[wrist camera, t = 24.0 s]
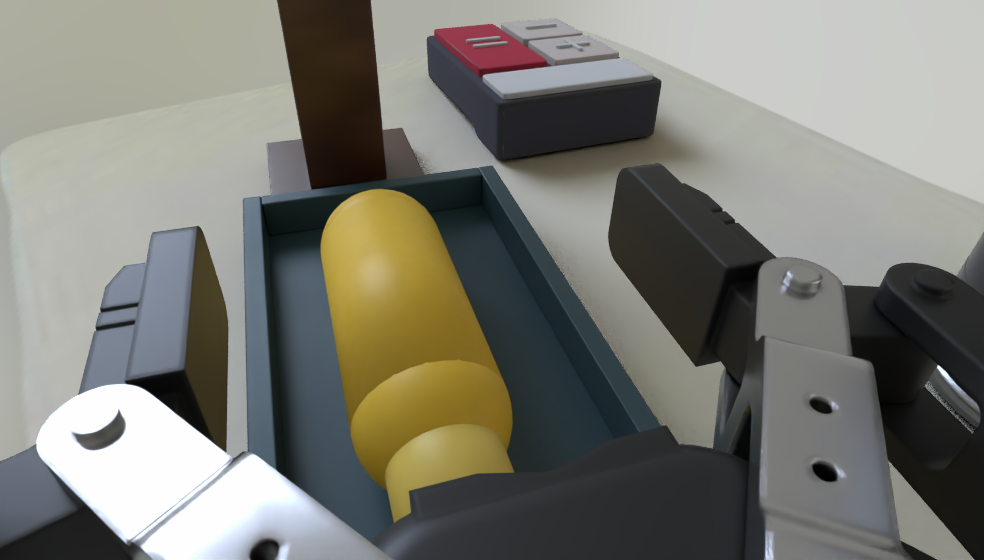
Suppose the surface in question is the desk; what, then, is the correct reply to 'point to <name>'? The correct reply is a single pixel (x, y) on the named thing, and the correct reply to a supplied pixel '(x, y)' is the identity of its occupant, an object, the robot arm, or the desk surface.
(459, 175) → the tray
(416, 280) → the yellow bottle
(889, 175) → the desk surface
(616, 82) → the calculator
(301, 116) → the stand
